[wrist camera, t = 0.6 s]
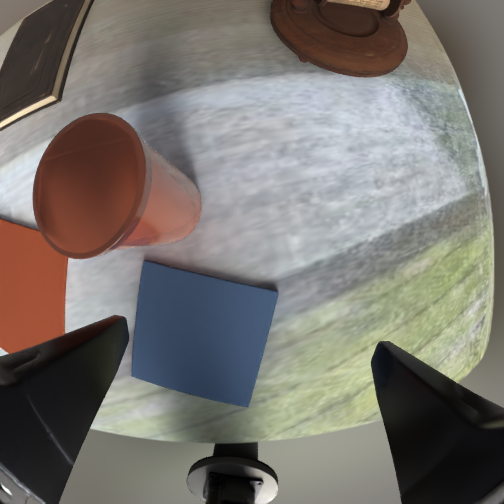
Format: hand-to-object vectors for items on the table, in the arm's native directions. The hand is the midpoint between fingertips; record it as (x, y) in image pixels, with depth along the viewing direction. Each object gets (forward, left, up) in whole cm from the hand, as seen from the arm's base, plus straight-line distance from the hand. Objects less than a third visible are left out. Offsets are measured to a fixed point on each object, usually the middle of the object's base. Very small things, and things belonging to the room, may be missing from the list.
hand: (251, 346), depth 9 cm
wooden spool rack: (+27, -3, -15) cm, 31 cm away
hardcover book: (+23, +37, -15) cm, 46 cm away
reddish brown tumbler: (+4, +9, -15) cm, 18 cm away
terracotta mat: (-10, +27, -15) cm, 32 cm away
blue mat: (-7, +4, -15) cm, 17 cm away
